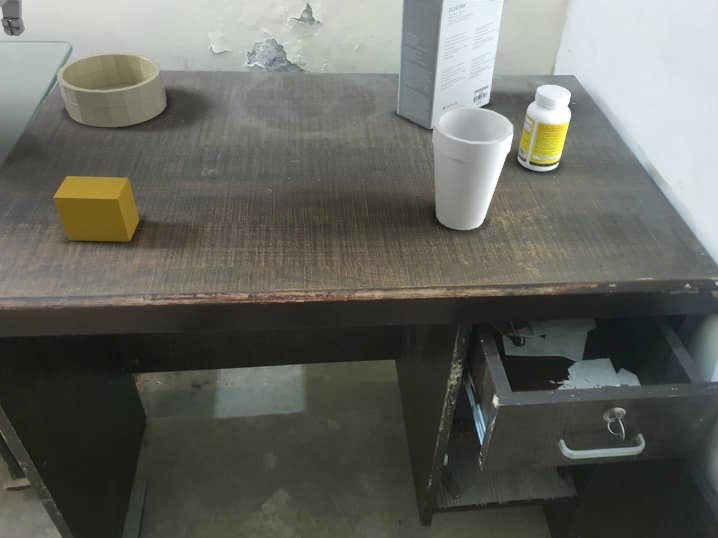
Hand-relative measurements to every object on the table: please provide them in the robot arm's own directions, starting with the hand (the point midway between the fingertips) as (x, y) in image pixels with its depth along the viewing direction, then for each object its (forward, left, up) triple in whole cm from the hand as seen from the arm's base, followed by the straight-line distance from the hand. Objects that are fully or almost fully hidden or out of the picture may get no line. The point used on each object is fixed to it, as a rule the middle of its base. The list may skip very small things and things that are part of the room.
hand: (0, 48), depth 72 cm
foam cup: (+54, -8, -17) cm, 57 cm away
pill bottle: (+68, +6, -17) cm, 70 cm away
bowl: (+4, +22, -17) cm, 28 cm away
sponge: (+10, -11, -17) cm, 23 cm away
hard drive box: (+56, +23, -17) cm, 63 cm away
